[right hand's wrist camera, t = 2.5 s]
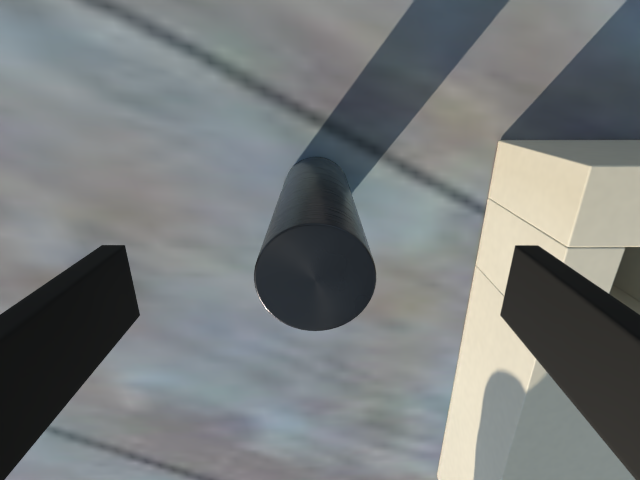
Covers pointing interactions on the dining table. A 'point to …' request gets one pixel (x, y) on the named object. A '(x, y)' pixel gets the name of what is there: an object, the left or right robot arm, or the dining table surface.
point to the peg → (315, 251)
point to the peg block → (500, 340)
